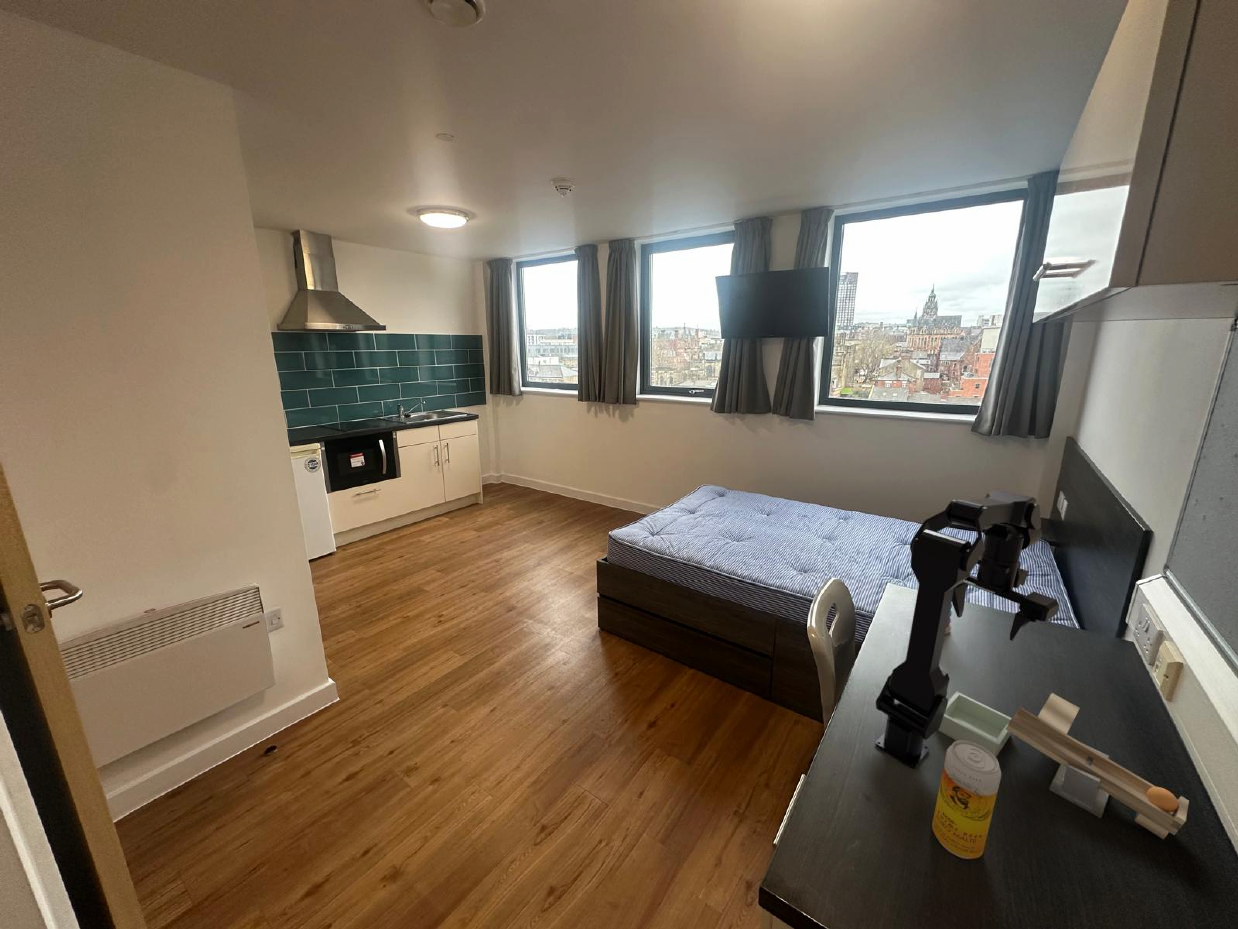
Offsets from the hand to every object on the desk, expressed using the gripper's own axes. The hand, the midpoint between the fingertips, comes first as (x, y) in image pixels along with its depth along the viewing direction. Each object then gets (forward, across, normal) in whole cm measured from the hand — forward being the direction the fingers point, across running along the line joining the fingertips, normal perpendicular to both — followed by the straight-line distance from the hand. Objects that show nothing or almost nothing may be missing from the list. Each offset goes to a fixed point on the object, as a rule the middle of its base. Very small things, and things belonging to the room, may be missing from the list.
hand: (984, 628), depth 96 cm
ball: (+9, -28, +10) cm, 31 cm away
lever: (+12, -19, +5) cm, 23 cm away
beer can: (+15, -15, +36) cm, 42 cm away
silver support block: (+14, -20, +11) cm, 27 cm away
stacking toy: (+14, +16, -16) cm, 27 cm away
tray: (+14, -6, +12) cm, 20 cm away
